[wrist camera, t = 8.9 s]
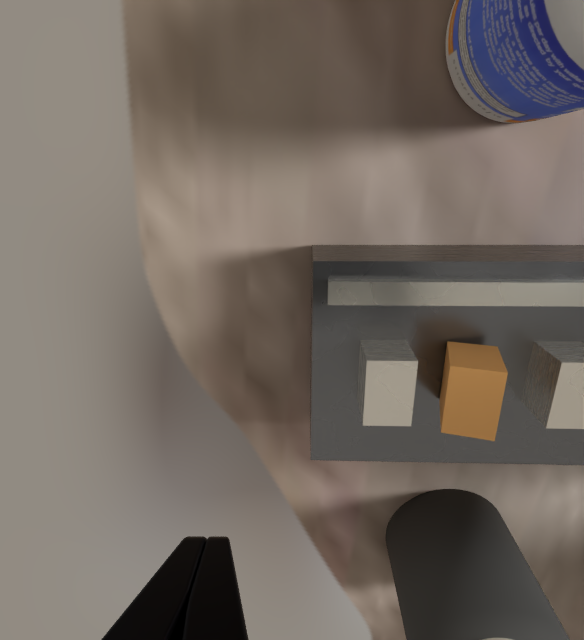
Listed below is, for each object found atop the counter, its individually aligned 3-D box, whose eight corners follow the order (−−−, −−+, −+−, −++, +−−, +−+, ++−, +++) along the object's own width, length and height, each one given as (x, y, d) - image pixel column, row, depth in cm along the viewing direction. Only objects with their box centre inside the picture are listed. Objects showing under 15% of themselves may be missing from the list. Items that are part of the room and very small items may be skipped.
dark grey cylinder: (527, 537, 21) (613, 682, 15) (434, 593, 23) (480, 744, 17) (454, 468, 20) (518, 597, 14) (361, 533, 22) (383, 673, 16)
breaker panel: (673, 245, 16) (813, 274, 12) (619, 421, 19) (714, 499, 14) (312, 245, 17) (313, 273, 12) (310, 417, 19) (311, 491, 15)
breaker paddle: (497, 346, 14) (507, 372, 12) (486, 408, 15) (494, 440, 13) (447, 341, 14) (449, 365, 13) (439, 401, 15) (440, 432, 13)
